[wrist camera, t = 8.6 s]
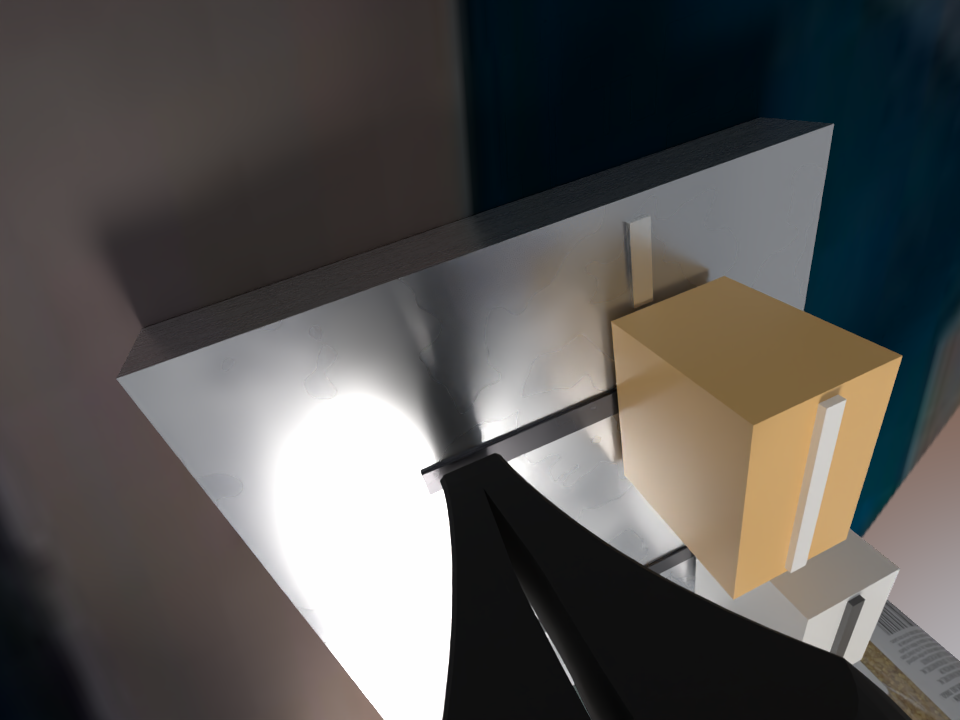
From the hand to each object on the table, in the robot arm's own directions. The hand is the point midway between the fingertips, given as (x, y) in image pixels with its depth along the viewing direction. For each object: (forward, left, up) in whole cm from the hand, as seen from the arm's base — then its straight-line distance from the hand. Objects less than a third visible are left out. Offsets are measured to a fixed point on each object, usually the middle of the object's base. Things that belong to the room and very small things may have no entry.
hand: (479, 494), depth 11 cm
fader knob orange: (+6, 0, -1) cm, 6 cm away
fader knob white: (+8, -8, -1) cm, 11 cm away
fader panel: (+3, -4, -3) cm, 6 cm away
